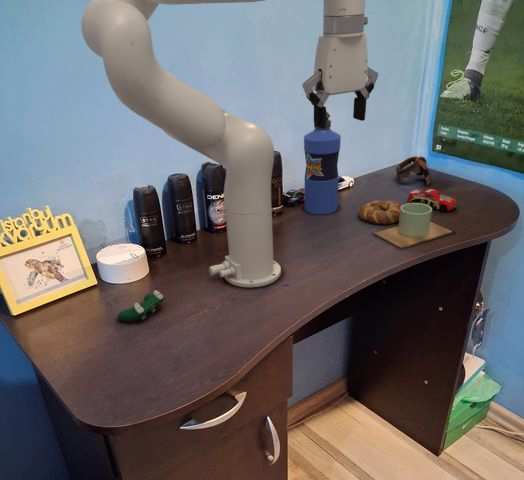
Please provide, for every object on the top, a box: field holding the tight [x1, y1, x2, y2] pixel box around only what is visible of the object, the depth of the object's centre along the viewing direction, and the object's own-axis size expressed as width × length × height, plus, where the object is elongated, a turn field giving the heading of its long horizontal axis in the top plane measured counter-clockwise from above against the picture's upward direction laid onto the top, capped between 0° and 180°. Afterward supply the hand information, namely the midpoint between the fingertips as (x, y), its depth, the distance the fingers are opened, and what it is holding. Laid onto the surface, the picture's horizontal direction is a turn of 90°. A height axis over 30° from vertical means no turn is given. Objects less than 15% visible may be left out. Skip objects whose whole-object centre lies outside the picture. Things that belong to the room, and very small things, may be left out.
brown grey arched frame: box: [395, 155, 431, 186], centre depth 162 cm, size 12×10×8 cm
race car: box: [407, 188, 458, 213], centre depth 146 cm, size 13×5×4 cm, turn 50°
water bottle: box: [303, 110, 342, 215], centre depth 142 cm, size 9×9×25 cm
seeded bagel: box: [358, 199, 402, 226], centre depth 141 cm, size 12×11×4 cm
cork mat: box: [373, 221, 453, 249], centre depth 133 cm, size 16×10×1 cm, turn 119°
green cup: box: [397, 202, 433, 238], centre depth 131 cm, size 7×7×6 cm
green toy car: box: [117, 289, 165, 322], centre depth 107 cm, size 9×4×6 cm
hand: (339, 123), depth 111 cm, fingers open, 9 cm apart
